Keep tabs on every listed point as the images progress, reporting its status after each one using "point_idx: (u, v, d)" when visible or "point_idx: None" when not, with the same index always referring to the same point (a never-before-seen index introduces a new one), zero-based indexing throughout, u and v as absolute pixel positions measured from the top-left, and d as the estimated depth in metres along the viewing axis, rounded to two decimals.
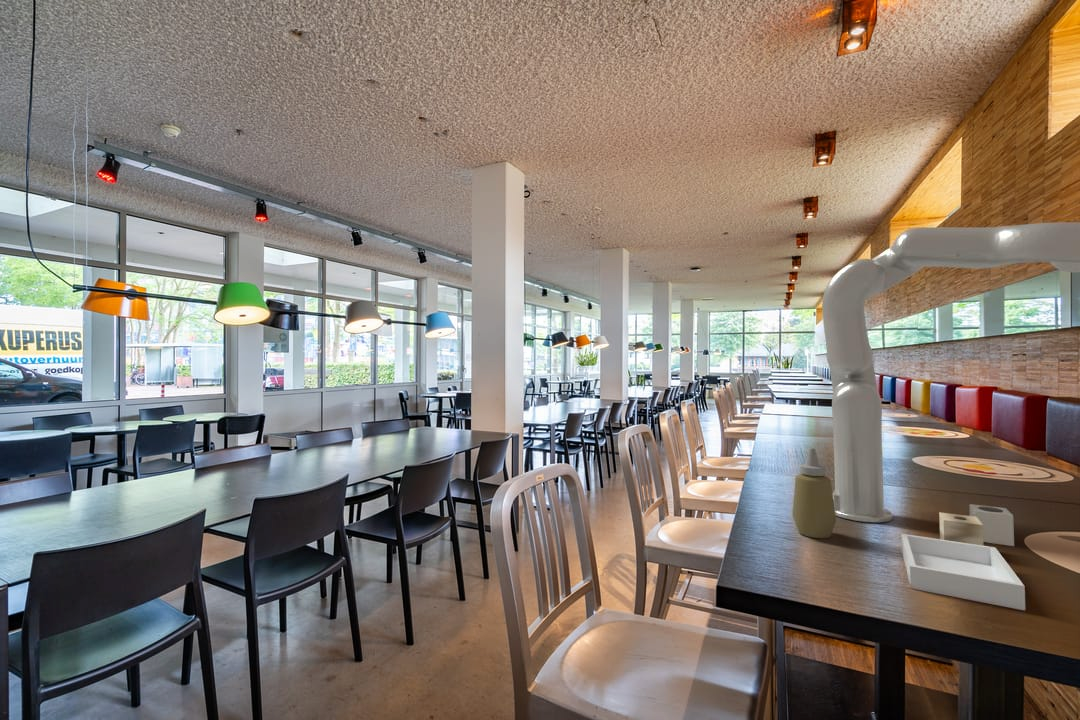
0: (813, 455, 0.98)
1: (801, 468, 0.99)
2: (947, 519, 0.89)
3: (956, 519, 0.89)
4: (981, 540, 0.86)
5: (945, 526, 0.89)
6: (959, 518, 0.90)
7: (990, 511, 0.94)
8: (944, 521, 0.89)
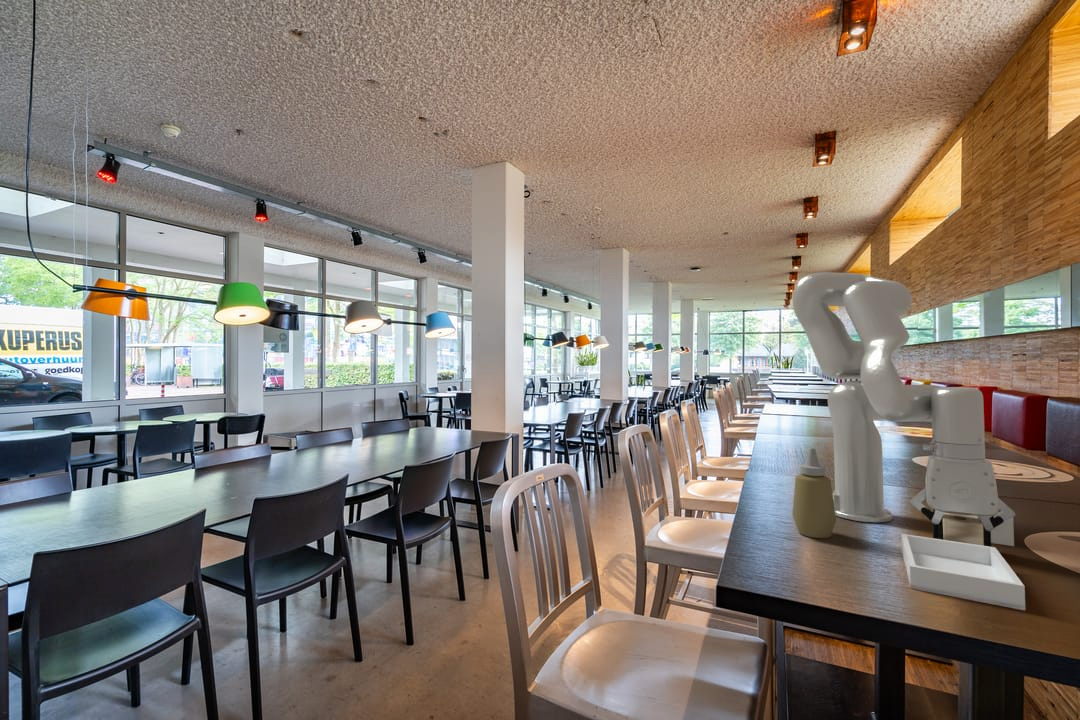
0: (813, 455, 0.98)
1: (801, 468, 0.99)
2: (947, 519, 0.89)
3: (957, 519, 0.89)
4: (981, 540, 0.86)
5: (945, 526, 0.89)
6: (959, 517, 0.90)
7: None
8: (944, 521, 0.89)
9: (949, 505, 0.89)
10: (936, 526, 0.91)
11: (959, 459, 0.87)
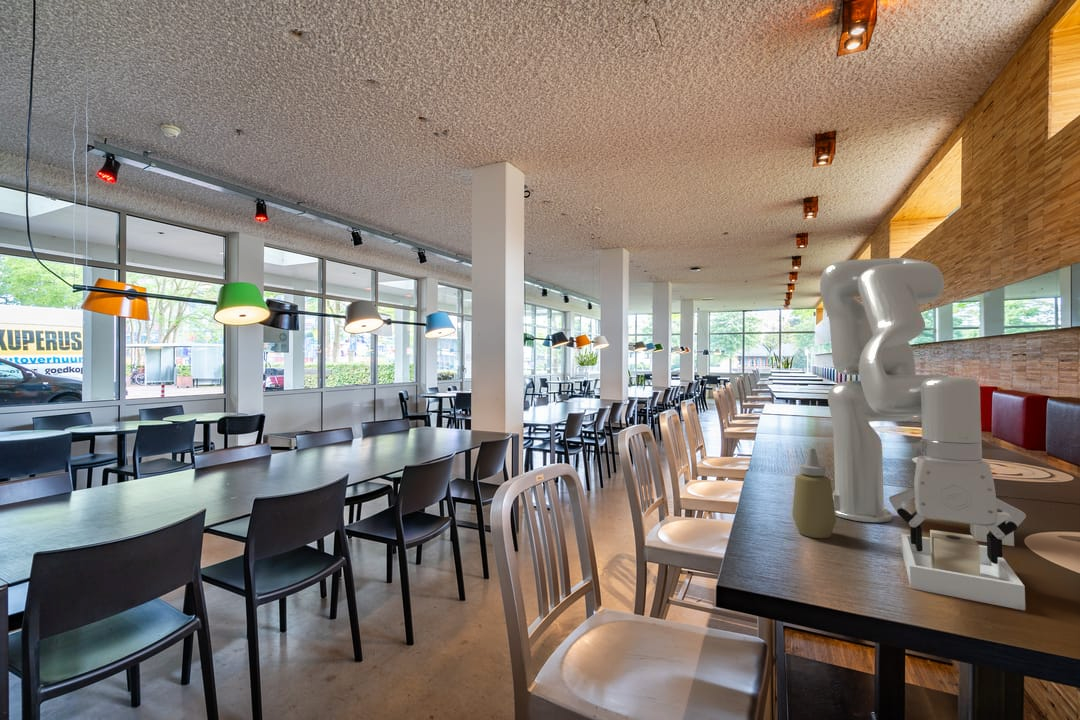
0: (813, 455, 0.98)
1: (801, 468, 0.99)
2: (939, 538, 0.78)
3: (949, 539, 0.78)
4: (977, 564, 0.75)
5: (936, 547, 0.77)
6: (952, 537, 0.78)
7: None
8: (935, 541, 0.78)
9: (940, 512, 0.77)
10: (914, 529, 0.81)
11: (952, 460, 0.76)
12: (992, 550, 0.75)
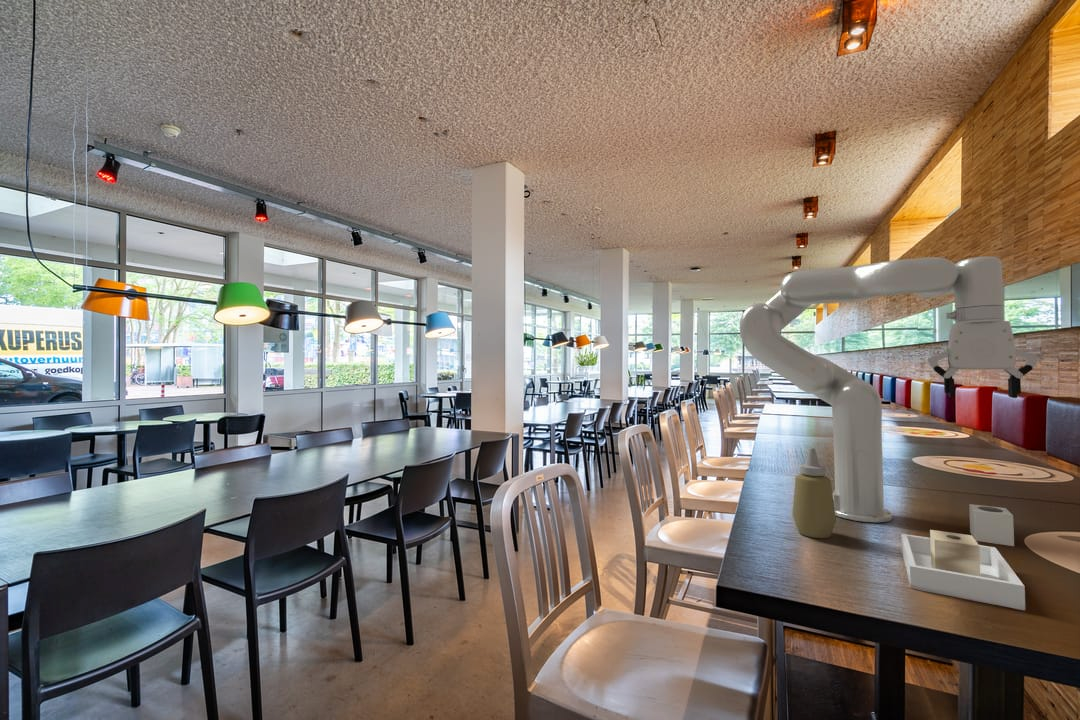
0: (813, 455, 0.98)
1: (801, 468, 0.99)
2: (939, 538, 0.78)
3: (949, 539, 0.78)
4: (977, 564, 0.75)
5: (936, 547, 0.77)
6: (952, 537, 0.78)
7: (990, 511, 0.94)
8: (935, 541, 0.78)
9: (971, 362, 0.98)
10: (947, 381, 1.02)
11: (980, 319, 0.97)
12: (1013, 387, 0.96)
